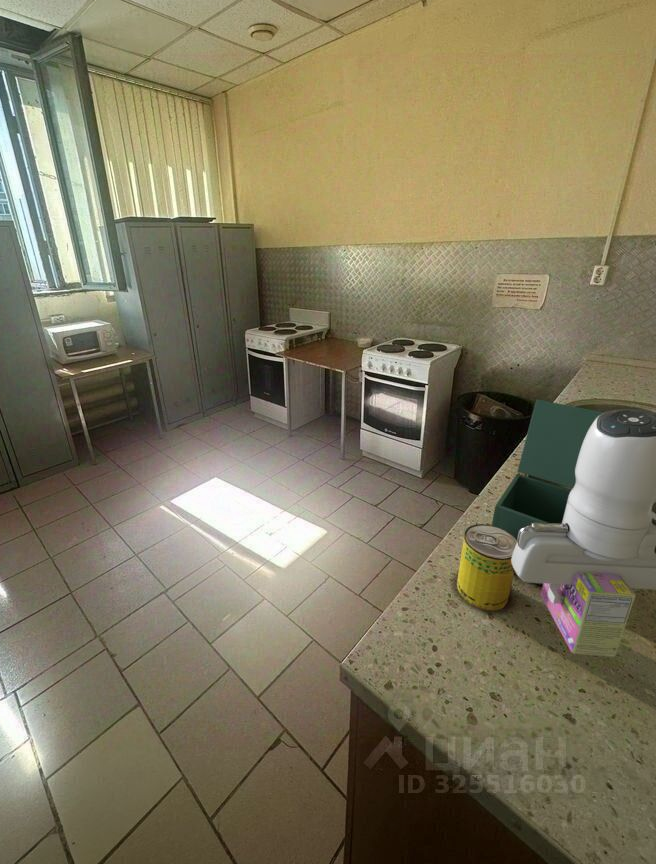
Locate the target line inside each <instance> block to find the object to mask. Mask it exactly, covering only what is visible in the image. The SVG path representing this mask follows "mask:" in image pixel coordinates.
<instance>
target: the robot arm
mask: <svg viewBox="0 0 656 864" xmlns="http://www.w3.org/2000/svg"><path fill="white" fill-rule="evenodd" d="M575 477H576V483H575V486H574V488H571V489H570V490H571V492H570V494H569V497H568V501H567V505H566V509H565V513H564V517H563V521H562V524H561V523H550V524H542V523H532V524H531V525H530V526H526V527H524V528H522V529H520V531H519V534H518V539H517V544H516V546H515V549H514V552H513V555H512V559H511V562H512V565H513V568H514V570H515V572H516V573H517V575H516V576H518V578H519V579H520V580H521V581H522V582H523V583H527V584H528V583H529V584H536V583H545V584H548V586H549V590H548V597H549V599H550V601H551V602H552V603H553V604H564V600H565V595H564V594H563V592H562V590H561V589H560V587H561V584H563V585H573V583H574V579H575V575H576V573H596V574H613V575H620V576H621V577H622V579H623V580H624V581H625V582H626V583H627V585H628V586H629V587H630V588H631V590H633V589H636V590H637V589H638V590H653V591H655V590H656V513H655V512H653V506H654V504H656V412H653V411H648V410H643V409H635V408H620V409H613V410H609V411H606V412H604V413H603V414H601V415H599V416H598V417H597V418H596V419H595V421H594V422H593V423H592V425H591V427H590V428H589V430H588V432H587V434H586V436H585V439H584V441H583V444H582V446H581V449H580V453H579V456H578V460H577V464H576V468H575Z"/></svg>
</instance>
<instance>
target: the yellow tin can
mask: <svg viewBox="0 0 656 864" xmlns="http://www.w3.org/2000/svg"><path fill="white" fill-rule="evenodd" d="M462 541H463V542H462V548H461V553H460V560H459V566H458V567H459V568H458V573H457V580H456V581H457V582H456V587H457V591H458V592H459V595H460V596H461V597H462V598H463V599H464V600H465V601H466V602H467V603H469V604H470V605H472V606H474V607H476V608H478V609H482V610H484V611H499V610H501V609H504V607H505V606H506V605H508V602H509V597H510V593H511V589H512V584H513V579H514V575H515V574H514V571H515V570H514V568H513V565H512V562H511V559H512V555H513V552H514V549H515V546H516V544H517V540H516V539H515V538H514V537H513V536H512V535H511V534H509V533H508V532H506V531H505V530H503V529H501V528H498V527H495V526H492V524H485V523H478V524H477V523H476V524H473V525H470V526H468V527H467V528H466V529H465V531H464V535H463V540H462Z"/></svg>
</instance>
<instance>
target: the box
mask: <svg viewBox="0 0 656 864" xmlns="http://www.w3.org/2000/svg"><path fill="white" fill-rule="evenodd" d="M560 589H561V590H562V592H563V594H564V595H565V600H564V604H553V603H552V602H551V601H550V599H549V597H548V590H549V586H548V584H545V583H543V586H541V592H540V596H541V598H542V600H543V602H544V604H545V606H546V608H547V610H548V611H549V613H550V615H551V617H552V619H553V621H554V623H555V624H556V626H557V628H558V630H559V632H560V634H561V635H562V637H563V640H564V641H565V643H566V645H567V647H568V649H569V651H570V652H571V654H573V655H581V656H582V655H584V656H592V657H593V656H594V657H605V658H606V657H607V658H615V657H616V656H617V652H618V650H619V647H620V643H621V641H622V638H623V634H624V631H625V628H626V626H627V624H628V623H627V622H628V621H629V617H630V613H631V610H632V608H633V605H634V602H635V600H636V593H635V592H634V590H633V589H631V588H630V587H629V586H628V585H627V583H626V582H625V581H624V580H623V579H622V577H621V576H620V575H613V574H596V573H576V575H575V579H574V583H573V585H563V584H561V587H560Z"/></svg>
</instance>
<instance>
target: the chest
mask: <svg viewBox="0 0 656 864" xmlns="http://www.w3.org/2000/svg"><path fill="white" fill-rule="evenodd" d="M571 490H572V489H571V488H568V487H565V486H564V487H563V486H560V485H558V484H557V485H556V484H555V483H552V482H548V481H545V480H542V479H538V478H535V477H532V476H529V475H525V474H522V473H519V472H517V473H516V475H515V476H514V477H513V479H512V480H511V482H510V484H509V485H508V486H507V487H506V489H505V491H504V492H503V493H502V494H501V497H500V498H499V499H498V501H497V503H496V504H495V505H494V510H493V516H492V523H491V525H492V526H495V527H498V528H501V529H503V530H505V531H506V532H508V533H509V534H511V535H512V536H513V537H514V538H515V539H516V540H517V539H518V534H519V531H520V529H522V528H524V527H526V526H530V525H531V524H532V523H542V524H550V523H561V524H562V521H563V517H564V513H565V509H566V505H567V501H568V497H569V494H570V492H571ZM514 575H516V576H518V575H517V573H516V572H515V571H514ZM535 584H536V585H539V586H541V587H543V583H535Z"/></svg>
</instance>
